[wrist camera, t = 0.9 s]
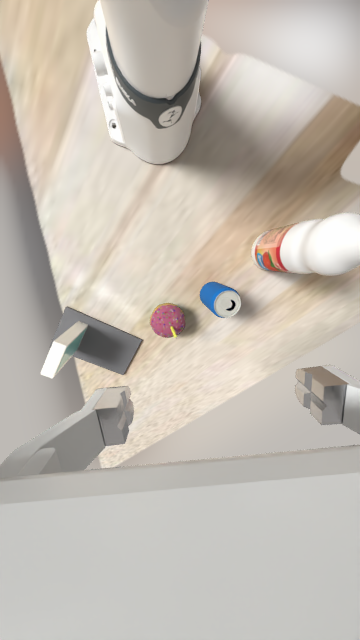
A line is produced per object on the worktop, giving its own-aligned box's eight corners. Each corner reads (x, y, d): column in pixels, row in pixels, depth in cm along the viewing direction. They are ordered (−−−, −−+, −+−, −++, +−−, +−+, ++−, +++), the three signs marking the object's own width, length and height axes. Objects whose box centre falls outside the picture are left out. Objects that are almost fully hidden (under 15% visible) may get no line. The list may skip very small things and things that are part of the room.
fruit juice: (291, 236, 47) (466, 208, 20) (275, 274, 49) (414, 291, 23) (258, 225, 45) (404, 176, 18) (244, 264, 47) (355, 271, 21)
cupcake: (189, 315, 50) (198, 332, 39) (166, 336, 51) (169, 358, 40) (166, 293, 47) (170, 303, 36) (143, 315, 48) (139, 333, 37)
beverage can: (216, 309, 50) (233, 324, 39) (195, 300, 49) (206, 313, 37) (227, 287, 49) (248, 295, 37) (205, 277, 47) (221, 283, 36)
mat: (50, 346, 48) (49, 347, 47) (67, 306, 45) (65, 307, 45) (123, 373, 53) (123, 375, 52) (142, 339, 50) (141, 340, 50)
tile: (67, 346, 48) (40, 374, 37) (78, 320, 46) (53, 341, 35) (77, 350, 48) (52, 378, 37) (88, 325, 47) (66, 346, 35)
